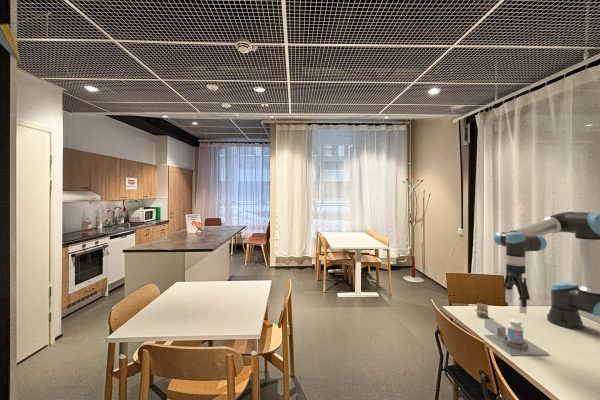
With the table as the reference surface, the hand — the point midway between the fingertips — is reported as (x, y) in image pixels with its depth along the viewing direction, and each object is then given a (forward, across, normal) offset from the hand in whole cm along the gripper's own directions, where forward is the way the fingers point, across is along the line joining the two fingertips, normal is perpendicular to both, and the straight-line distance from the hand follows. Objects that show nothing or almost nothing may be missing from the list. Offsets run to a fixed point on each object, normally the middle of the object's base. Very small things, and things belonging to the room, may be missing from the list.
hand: (515, 307), depth 138 cm
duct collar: (+18, -5, -2) cm, 19 cm away
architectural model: (+19, -34, -3) cm, 39 cm away
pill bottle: (+18, 0, 0) cm, 18 cm away
